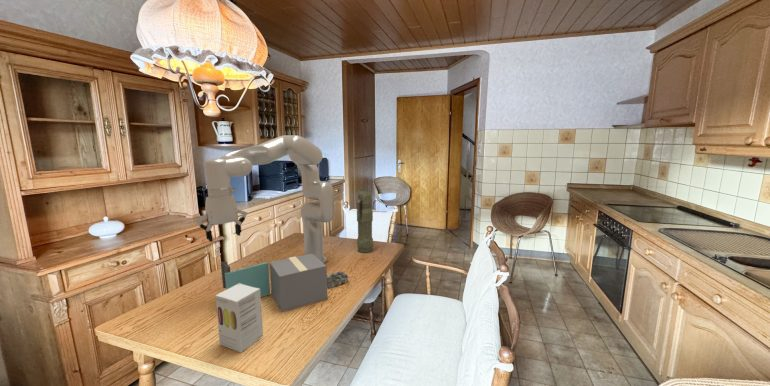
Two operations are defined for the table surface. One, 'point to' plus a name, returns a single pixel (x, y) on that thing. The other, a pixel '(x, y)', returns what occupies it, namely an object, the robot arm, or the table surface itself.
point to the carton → (298, 281)
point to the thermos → (364, 221)
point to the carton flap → (247, 277)
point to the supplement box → (239, 317)
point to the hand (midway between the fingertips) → (224, 237)
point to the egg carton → (336, 279)
